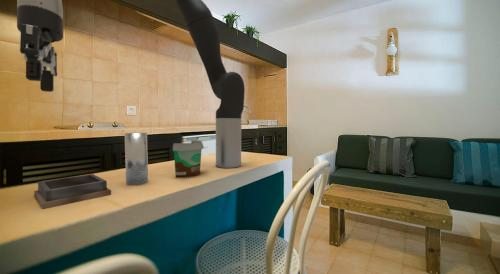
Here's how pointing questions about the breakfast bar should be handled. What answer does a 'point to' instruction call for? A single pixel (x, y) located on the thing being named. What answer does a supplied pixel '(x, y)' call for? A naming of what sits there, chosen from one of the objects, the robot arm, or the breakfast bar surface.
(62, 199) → the holder
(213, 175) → the breakfast bar surface
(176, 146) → the food container
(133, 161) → the silver tall shiny block
